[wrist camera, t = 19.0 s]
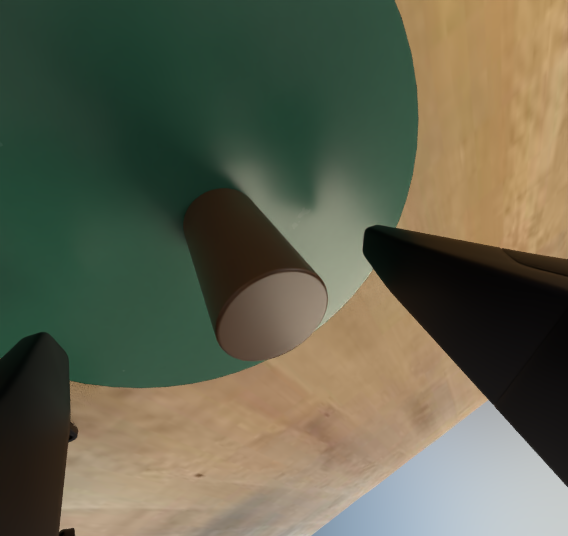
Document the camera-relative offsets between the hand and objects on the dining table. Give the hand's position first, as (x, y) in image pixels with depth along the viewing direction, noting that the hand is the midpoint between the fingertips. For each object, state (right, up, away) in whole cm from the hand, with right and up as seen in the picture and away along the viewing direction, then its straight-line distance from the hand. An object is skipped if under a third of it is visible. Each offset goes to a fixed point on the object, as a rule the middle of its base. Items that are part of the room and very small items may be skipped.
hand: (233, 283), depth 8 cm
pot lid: (-1, +2, +1) cm, 2 cm away
